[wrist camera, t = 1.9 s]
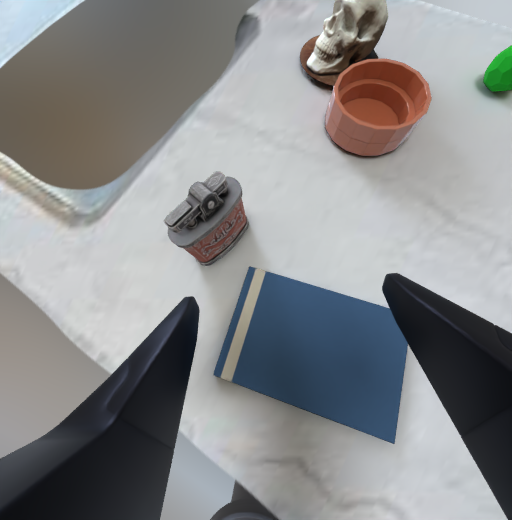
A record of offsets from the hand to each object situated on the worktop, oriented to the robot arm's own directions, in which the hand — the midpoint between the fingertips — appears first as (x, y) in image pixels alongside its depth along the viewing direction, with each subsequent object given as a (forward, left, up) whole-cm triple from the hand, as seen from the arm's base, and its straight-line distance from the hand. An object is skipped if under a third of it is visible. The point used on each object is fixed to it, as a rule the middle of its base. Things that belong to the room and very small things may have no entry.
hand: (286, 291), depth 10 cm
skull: (+33, +20, -14) cm, 41 cm away
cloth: (0, -6, -14) cm, 15 cm away
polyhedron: (+44, +1, -14) cm, 46 cm away
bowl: (+26, +9, -14) cm, 31 cm away
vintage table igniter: (+1, +10, -14) cm, 17 cm away
